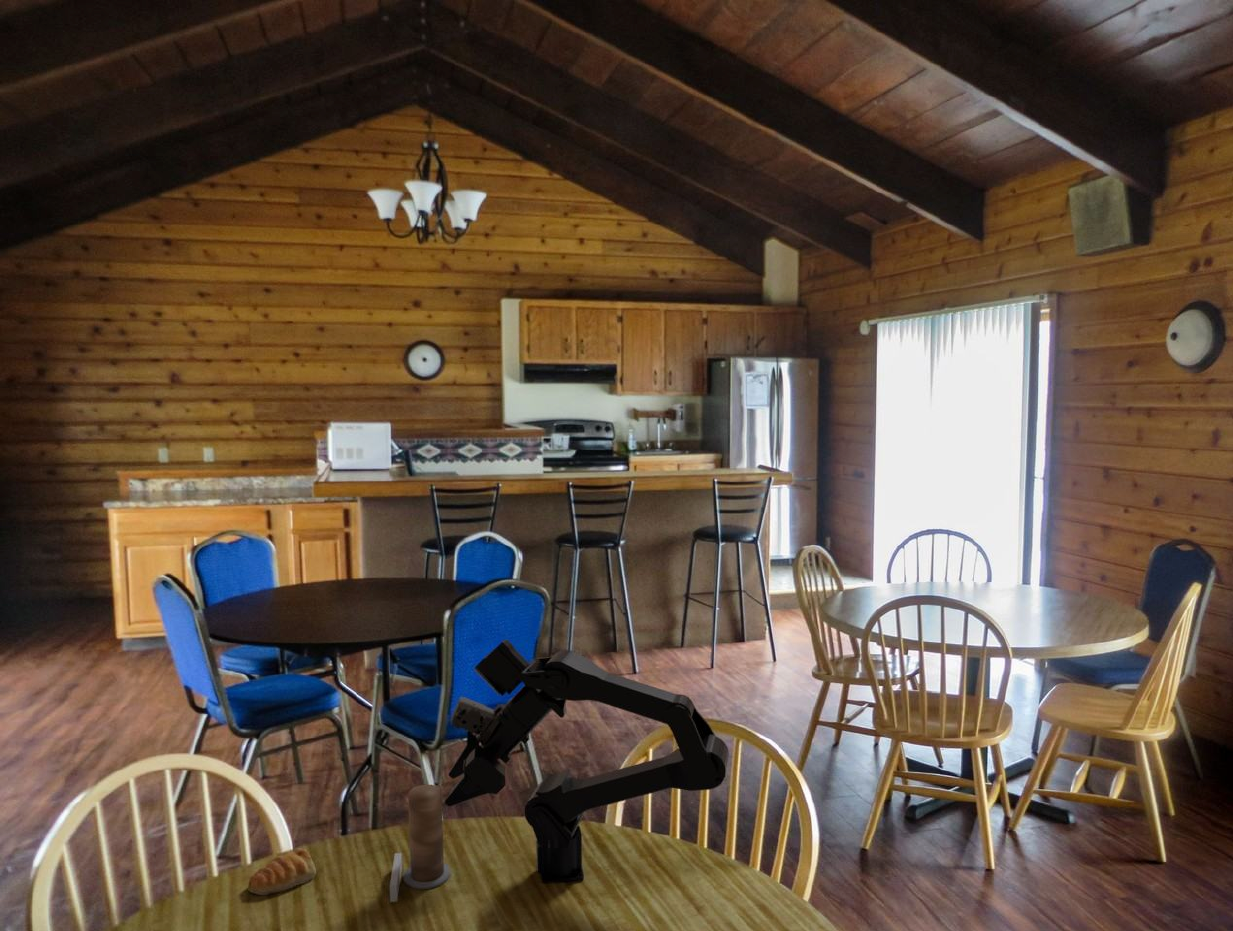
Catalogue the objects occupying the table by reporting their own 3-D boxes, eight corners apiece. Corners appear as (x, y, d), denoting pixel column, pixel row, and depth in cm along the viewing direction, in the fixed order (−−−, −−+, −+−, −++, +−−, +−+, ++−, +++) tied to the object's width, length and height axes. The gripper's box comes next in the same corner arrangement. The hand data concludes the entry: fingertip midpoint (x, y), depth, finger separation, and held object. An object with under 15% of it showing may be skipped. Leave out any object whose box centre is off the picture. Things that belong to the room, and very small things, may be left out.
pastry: (261, 905, 129) (260, 880, 128) (240, 888, 133) (238, 864, 133) (320, 878, 136) (319, 854, 135) (298, 862, 140) (297, 839, 140)
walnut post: (444, 862, 139) (442, 783, 137) (443, 880, 134) (441, 798, 132) (411, 865, 138) (409, 785, 136) (409, 883, 133) (407, 801, 132)
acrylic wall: (401, 867, 138) (401, 852, 138) (397, 901, 129) (396, 884, 129) (395, 868, 138) (394, 853, 138) (390, 901, 129) (389, 885, 129)
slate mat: (450, 861, 140) (450, 858, 140) (449, 886, 133) (449, 883, 133) (405, 865, 139) (405, 862, 139) (402, 891, 132) (401, 887, 132)
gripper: (483, 662, 143) (415, 731, 143) (480, 704, 125) (402, 783, 124) (532, 707, 145) (465, 775, 145) (536, 754, 127) (460, 833, 126)
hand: (448, 789), depth 135 cm, fingers open, 9 cm apart
